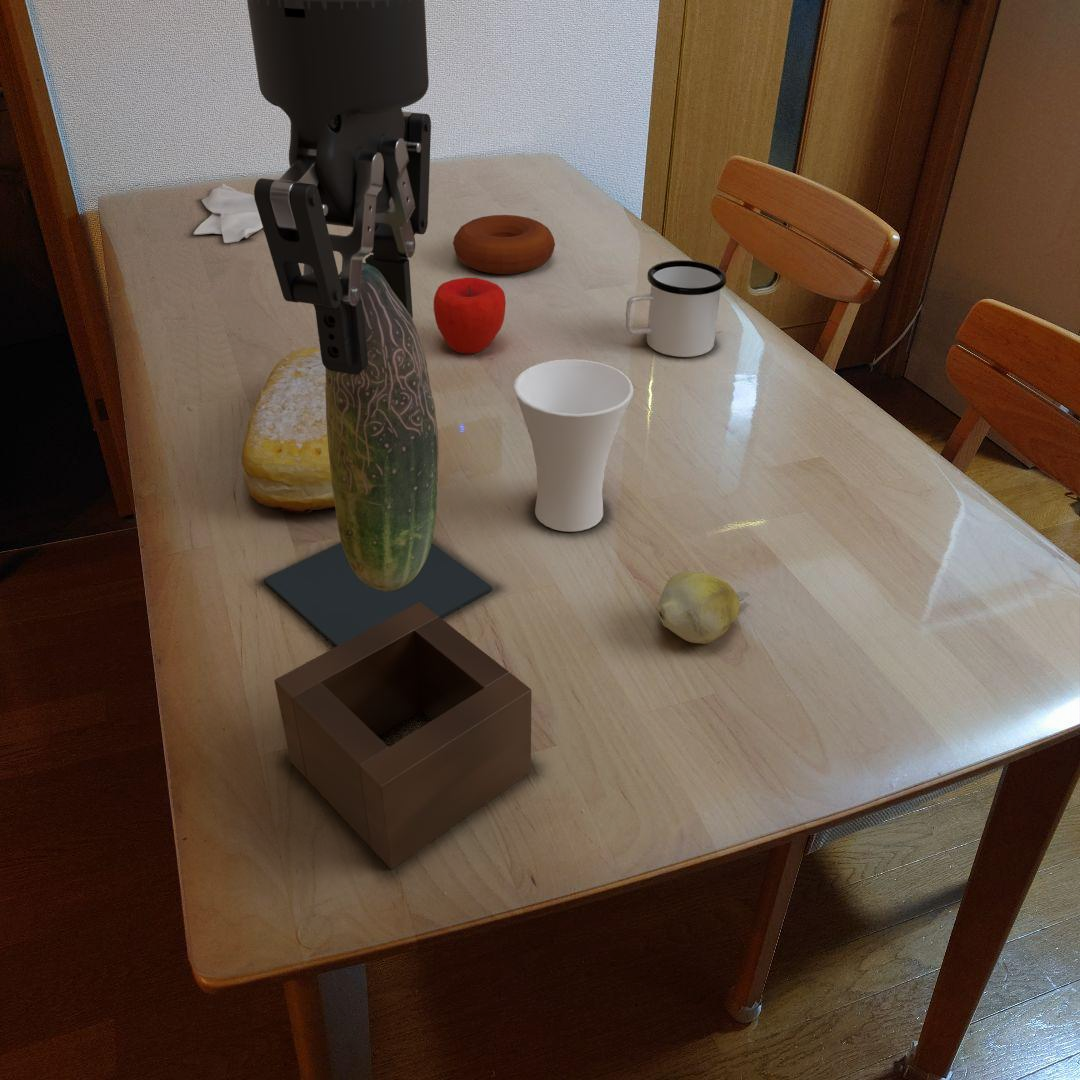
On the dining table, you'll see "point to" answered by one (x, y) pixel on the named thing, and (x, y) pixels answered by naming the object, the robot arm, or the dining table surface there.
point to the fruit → (698, 606)
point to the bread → (290, 437)
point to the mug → (681, 307)
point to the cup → (571, 435)
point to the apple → (469, 313)
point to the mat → (369, 592)
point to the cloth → (230, 214)
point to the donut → (504, 244)
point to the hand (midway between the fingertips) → (369, 345)
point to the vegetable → (384, 445)
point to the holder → (423, 756)
